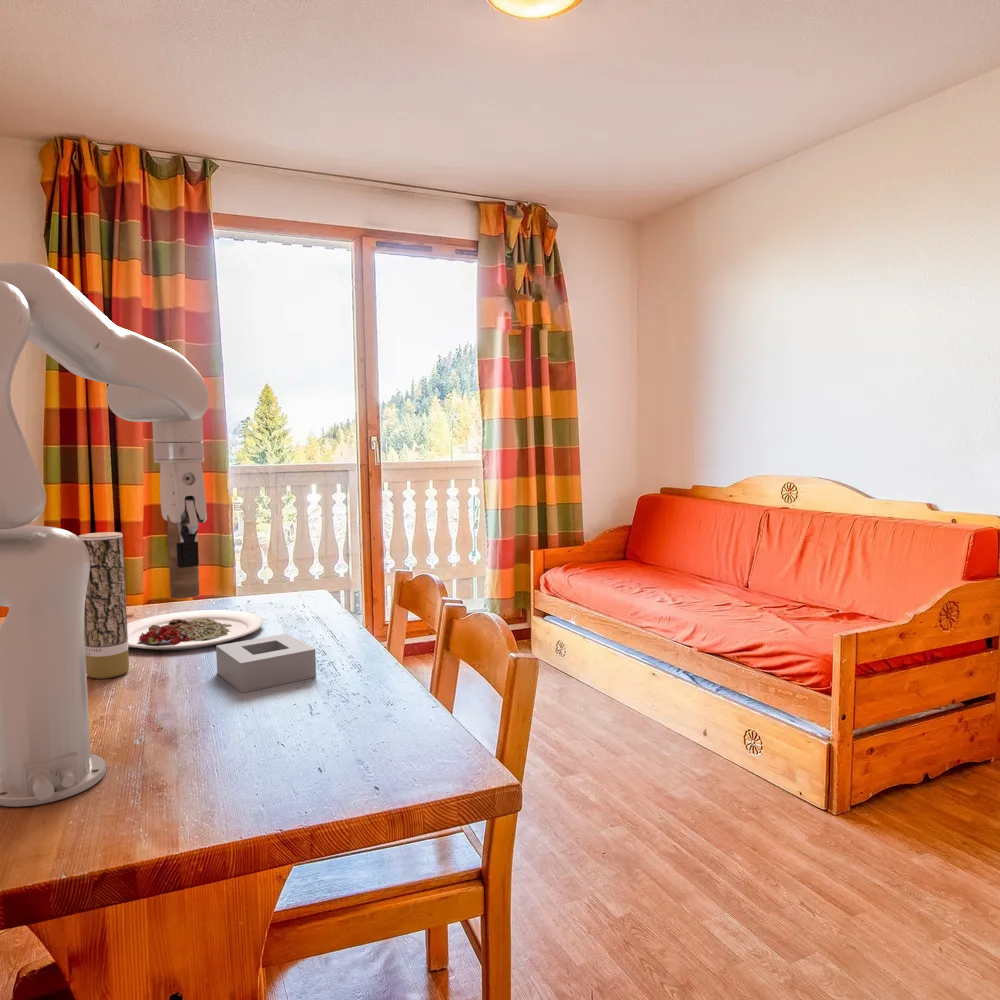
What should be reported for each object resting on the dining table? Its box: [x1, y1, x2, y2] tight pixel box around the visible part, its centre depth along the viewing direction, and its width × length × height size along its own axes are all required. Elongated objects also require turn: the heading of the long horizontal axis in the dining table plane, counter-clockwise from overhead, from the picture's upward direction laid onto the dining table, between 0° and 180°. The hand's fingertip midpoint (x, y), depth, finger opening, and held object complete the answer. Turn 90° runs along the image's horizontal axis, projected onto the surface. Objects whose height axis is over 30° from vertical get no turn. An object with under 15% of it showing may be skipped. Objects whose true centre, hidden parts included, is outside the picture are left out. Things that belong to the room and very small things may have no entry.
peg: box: [167, 515, 200, 599], centre depth 124 cm, size 4×4×14 cm
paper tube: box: [78, 531, 130, 680], centre depth 133 cm, size 7×7×25 cm
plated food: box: [127, 609, 264, 651], centre depth 160 cm, size 30×30×3 cm
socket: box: [215, 633, 317, 694], centre depth 133 cm, size 13×13×5 cm
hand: (183, 563), depth 124 cm, fingers closed on peg, 4 cm apart
